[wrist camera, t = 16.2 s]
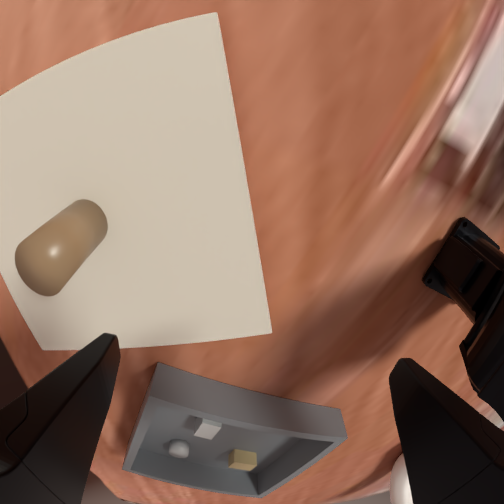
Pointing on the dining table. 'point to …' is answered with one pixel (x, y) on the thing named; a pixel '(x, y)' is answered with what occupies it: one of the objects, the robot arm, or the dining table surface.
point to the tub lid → (130, 196)
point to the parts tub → (226, 435)
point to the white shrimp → (400, 483)
